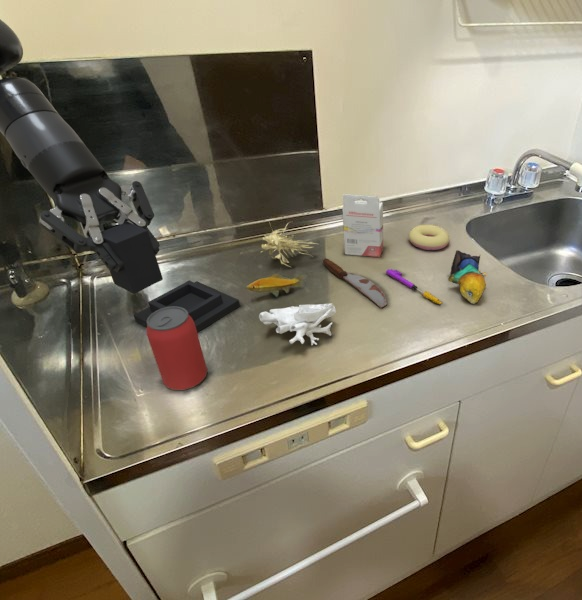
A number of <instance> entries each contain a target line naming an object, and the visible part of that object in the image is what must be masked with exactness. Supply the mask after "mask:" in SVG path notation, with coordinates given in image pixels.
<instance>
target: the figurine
mask: <svg viewBox="0 0 582 600" xmlns="http://www.w3.org/2000/svg"><path fill="white" fill-rule="evenodd" d="M480 259H481V255H471V254H469V253H466V252H462V251H461V250H460V249H457V250H455V253H454V257H453V259H452V263H451V267H450V272H449V273H450V274H449V276H448V278H447V280H448V282H450V283H454V284H456V285H459V293H460V294H461V296H462V297H463V298H464V299H466V300H467V301H468V302H469V304H471V305H475V304H476V303H478V302H479V300H480V298H481V297H482V295H483V293H484V291H485V289H486V287H487V286H486V285H487V284H486V279H485V277H486V276H487V275H488V274H487V272H481V269H480V266H479V265H480Z"/></svg>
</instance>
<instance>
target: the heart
mask: <svg viewBox="0 0 582 600" xmlns="http://www.w3.org/2000/svg"><path fill="white" fill-rule="evenodd" d="M336 314H337V310H336V307H335V305H334V303H321V304H320V303H318V304H299V305H298V306H293V305H292V306H288V307H283V308H271V309H269V312H268V311H262V312H260V313H259V315H258V319H259V321H260V322H261V323H263V325H264V326H265V325H266V326H269V325H271V324H274V325H276V328H275V332H276V333H277V334H279V335H282V334H285V333H287V332H290V333H291V332H295V335H294V337H292V338H291V339H289V340H288V342H289V343H290V345H293V344H294V343H295V342H296V341H299V342H300V344H301V345H304V344H305V339H304V336H307V337H308V338H310V345H311V346H314V345H315V346H317V345H318V343H317V342H316V341H319V340H320V338H319V337H315V336H314V334H313V333H324V334H325V335H326V334H327V335H328V336H329V337H331V336H332V334H333V333H332V332H331V327H332V325H333V322H330V323H329V324H328V325H326V326H323V327H322V324H320V323H321V322H322V321H323V320H325V319H328V318H331V317H334V316H336Z"/></svg>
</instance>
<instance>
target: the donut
mask: <svg viewBox="0 0 582 600" xmlns="http://www.w3.org/2000/svg"><path fill="white" fill-rule="evenodd" d="M408 240H409V242H410V243H411V244H412V246H414V247H416V248H418V249H420V250H426V251H437V250H442V249H445V247H446V246H448V244H449V243H450V234H449V232H448V231H447V230H445V228H442V227H441V226H438V225H434V224H418V225H416V226H413V227H412V228H411V229H410V230H409V232H408Z"/></svg>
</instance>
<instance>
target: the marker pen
mask: <svg viewBox="0 0 582 600" xmlns="http://www.w3.org/2000/svg"><path fill="white" fill-rule="evenodd" d="M386 275H388V276H390V277H391V278H393V279H395V280H397V281H398V282H400V283H402V284H403V285H405V286H407V287H408V288H410V289H412V290H414V291H418V292H420V293H422V295H423V297H424V298H426V299H428V300H429V301H431V302H433V303H435V304H438V305H443V302H442V301H440V299H439V298H438V297H436V296H434V295H433V294H431V293H430V292H429V291H426V290H425V292H424V291H422V290H421V289H419V288H418V286H417V285H415V284H414V283H413V282H412V281H409V280H408V279H406V278H404V277H403V276H402V275H403V273H402V272H400V271H399V270H397V269H391V268H390V269H386Z"/></svg>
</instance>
